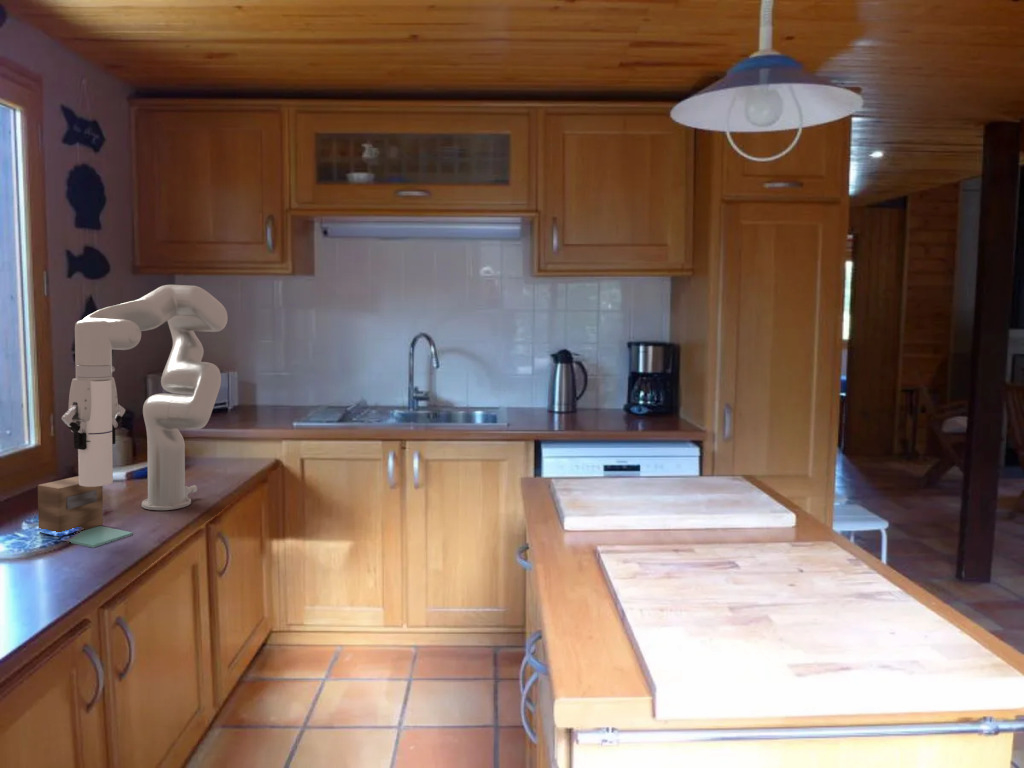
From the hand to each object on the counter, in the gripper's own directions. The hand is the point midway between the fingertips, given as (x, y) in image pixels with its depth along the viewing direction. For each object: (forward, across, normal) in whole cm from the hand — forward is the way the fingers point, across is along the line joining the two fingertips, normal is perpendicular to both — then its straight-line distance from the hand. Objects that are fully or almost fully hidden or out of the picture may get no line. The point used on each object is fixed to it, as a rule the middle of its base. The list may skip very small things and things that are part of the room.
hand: (95, 445), depth 176 cm
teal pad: (+23, 0, 0) cm, 23 cm away
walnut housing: (+23, -2, -11) cm, 25 cm away
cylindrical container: (+9, 0, 0) cm, 9 cm away
